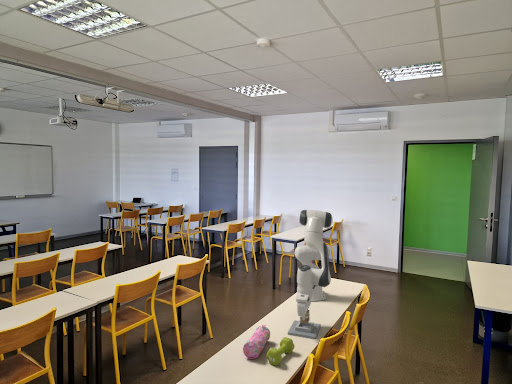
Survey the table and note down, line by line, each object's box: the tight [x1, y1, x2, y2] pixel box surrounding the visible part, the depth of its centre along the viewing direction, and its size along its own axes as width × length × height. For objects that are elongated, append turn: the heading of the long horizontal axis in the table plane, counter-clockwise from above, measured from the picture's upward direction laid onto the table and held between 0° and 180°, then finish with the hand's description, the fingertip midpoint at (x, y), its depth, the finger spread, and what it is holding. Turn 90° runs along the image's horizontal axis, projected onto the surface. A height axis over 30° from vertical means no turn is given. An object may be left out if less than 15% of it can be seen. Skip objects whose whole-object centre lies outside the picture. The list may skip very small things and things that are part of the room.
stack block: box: [299, 309, 311, 323], centre depth 188 cm, size 4×4×6 cm
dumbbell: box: [266, 336, 295, 367], centre depth 161 cm, size 16×8×7 cm, turn 144°
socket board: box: [287, 320, 322, 340], centre depth 189 cm, size 16×16×3 cm
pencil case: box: [242, 324, 271, 360], centre depth 169 cm, size 21×9×9 cm, turn 160°
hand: (304, 317), depth 188 cm, fingers closed on stack block, 4 cm apart
